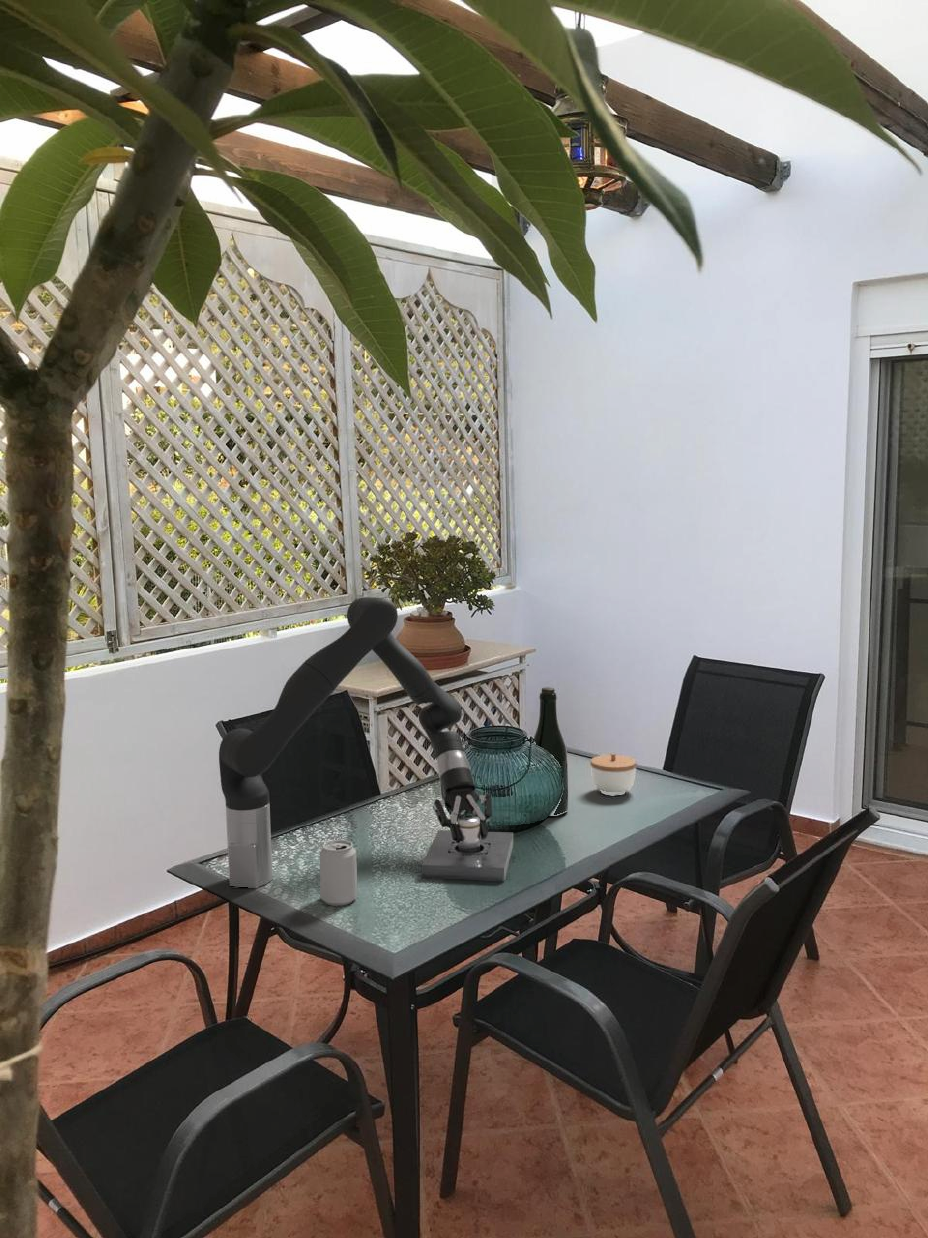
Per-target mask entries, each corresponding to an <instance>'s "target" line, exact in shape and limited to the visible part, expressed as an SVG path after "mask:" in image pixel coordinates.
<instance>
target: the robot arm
mask: <svg viewBox="0 0 928 1238" xmlns="http://www.w3.org/2000/svg"><path fill="white" fill-rule="evenodd" d="M398 614H399V613H398V610H397V607H396V605H395V604H394V603H393V602H392V601H391V600H389V599H386V598H383V597H373V596H370V597H369V596H368V597H367V596H364V597H359V598H356V599H354V600H353V601H352V602H351V603H350V604H349V606H348V608H347V611H346V620H347V623H348V626H349V627H348V629H347V630H346V631H345V632H344V634H342V635H341V636H340V637H339V638H337V639H335V640H333V641H332V642H330V644H327V645H326V646H324V647H323V648H321V649H319V650H318V651H317V652H316V651H315V653H314V654H312V655H310V656H309V657H308V658H307V659H306V660H305V661H304V662H302V664H300V666H299V667H298V668H297V669H296V670H295V671H294V672H293V673H292V675H290V677H289V678H288V679H287V681H286V683H285V685H284V686H283V688H282V690H281V694H280V695H279V698H278V702H276V706H275V707H274V709H273V710H272V712H271V713H270V714H269V715H268V716H267V718H266V719H265V720H264V721H263V722H262V723H261V724H260V725H259V726H258V727H257V728H255V729H254V730H253V731H252V730H250V729H246V728H236V729H232V730H230V731H229V732H227V733H226V734H225V735H224V737H223V738H222V740H221V742H220V745H219V749H218V761H219V762H218V765H219V776H220V786H221V790H222V791H221V792H222V794H223V796H224V801H225V816H226V817H225V819H226V838H227V858H228V859H227V860H228V878H229V887H230V886H241V887H248V888H247V889H258V888H259V887H261V886H263V885H264V886H265V885H266V884H268V883H270V882H271V881H272V880H273V858H272V856H273V855H272V835H271V834H272V832H271V831H272V830H271V811H270V809H271V808H270V792H269V789H268V787H267V786H266V784H265V782H264V781H263V778H262V777H263V776H262V774H263V773H264V772H266V771H267V770H268V769H269V768H270V767H271V765H272V764H273V763H274V762H275V761H276V759H277V758H278V756H280V754H281V752H282V751H283V750H284V749H285V747H286V746H287V745H288V743H289V741H290V740H291V738H293V736H294V735H295V734H296V732H298V730H299V729H300V728H301V727H303V725H304V724H305V722H307V720H308V719H310V717H311V716H312V715H313V714H314V713H315V712H316V710H317V709H318V708H319V707H320V706H322V705H323V704H324V702H325V701H326V700H327V699H328V698H329V697H330V696H331V695H332V694H333V692H335V690H336V689H337V688H338V686H339V685H340V684H341V683H342V682H343V681H344V680H345V678H347V676H349V674H350V673H351V672H352V671H353V670H354V669H355V668H356V667H357V665H358V664H359V663H360V662H361V661H362V659H364V658H365V657H366V655H368V654H369V653H370V652H371V651H373V652H374V653H375V655H377V656H378V658H379V659H380V660H381V661H382V663H383V664H385V666H386V667H387V669H388V670H389V671H390V673H392V675H393V676H394V678H396V680H397V681H398V683H399V684H400V686H401V687H402V688H403V690H404V691H405V693H406V695H407V696H408V697H409V698H410V700H412V702H413V703H414V704H417V705H423V704H427V705H425V706H424V707H422V708H420V710H419V712H418V722H419V724H420V726H421V728H422V729H423V731H424V732H425V733H426V736H427V737H428V739H429V741H430V743H431V745H432V749H433V751H434V756H435V761H436V766H437V767H436V769H437V774H438V778H439V781H440V785H441V789H442V793H443V799H441V800H439V799H435V800H434V802H433V805H432V809H433V811H434V812H435V815H436V818H437V820H438V822H439V824H440V826H441V827H442V828H445V827H446V828H449V830H450V831H451V834H452V838H453V840H454V841H456V843H460V841H461V836H460V832H459V828H458V823H457V822H458V816H462V815H469V816H477V817H479V818H480V835H481V839H482V840H484V839H486V837H487V835H488V832H489V830H488V826H487V823H488V822H490V821H491V819H492V817H493V807H492V795H491V794H490V793H486V794H485V795H482V794H479V793H478V791H476V787H475V781H474V778H473V774H472V770H471V766H470V763H469V760H468V758H467V755H466V752H465V749H464V746H463V740H462V737H461V736H460V734H459V733H458V732H457V731H454V730H451V731H450V730H447V731H443V730H445V729H448V728H450V727H452V726H454V725H456V724H458V723H459V722H460V721H461V720H462V716H463V711H462V707H461V705H460V704H459V702H458V701H457V700H456V699H455V698H454V697H453V696H452V695H451V694H450V693H448V692H446V691H445V690H444V689H443V688H442V687H440V686H439V685H438V683H436V682H435V681H434V679H433V678H432V676H431V675H430V673H429V672H428V671H427V669H426V667H425V666H424V665H423V663H421V661H420V660H419V659H417V657H415V656H414V655H413V654H412V653H411V652H410V651H409V650H408V649H407V648H406V647H404V646H403V644H401V643H400V641H398V639H397V638H396V637H395V636H394V635H393V633H392V631H393V630H394V629H395V627H396V625H397V623H398V619H399V615H398ZM429 703H430V704H429ZM478 802H480V803H481V805H482V806H483V812H482V810H481V808H480V806H479V805H478ZM445 807H446V808H447V809H449V811H451V812H450V818H448V817H447V815H446V814H447V813H446V812H445V810H444V808H445Z"/></svg>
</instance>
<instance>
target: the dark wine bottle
mask: <svg viewBox="0 0 928 1238" xmlns="http://www.w3.org/2000/svg"><path fill="white" fill-rule="evenodd" d="M539 693H540V694H539V696H538V697H539V717H538V724H537V726H536V731H535V732H534V736H533V738H532V740H533V739H534V741H535V742H536V745H538V746H540V747H542V748H544V749H545V750H547V751H548V752H549V753H550V754H552V755H553V756H554V758H555V759H556V760H557V761H558V762H559V764H560V766H561V769H562V773H563V778H564V790H563V795H562V797H561V801H560V803H559V805H558V807H557V809H556V811H555V813H554V815H557V814H560V813H563V812H565V811H567V810H568V811H569V804H570V803H569V802H570V801H569V761H568V760H569V759H568V751H567V746H566V744H565V743H566V742H565V740H564V737H563V735H562V733H561V730H560V726H559V724H558V714H557V693H556V692H555V688H554V687H549V686H548V687H542V688H541V692H539ZM568 811H567V812H568Z"/></svg>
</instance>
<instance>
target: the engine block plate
mask: <svg viewBox="0 0 928 1238" xmlns="http://www.w3.org/2000/svg"><path fill="white" fill-rule="evenodd" d="M513 847H514V832H509V831H508V832H505V831H503V832H502V831H488V835H487V837H486V839H484V840H482V839H481V835H480V852H478V853H472V854H471V853H461V852H458V843H456V841H454V840H453V838H452V834H451V830H450V829H449V830H448V829H447V830H446V829H445V830H444V829H443V830H442V829H438V831H437V832H436V834H435V837H434V838H433V841H432V843H431V845H430V847H429V849H428V851H427V853H426V855H425V857H424V860H423V862H422V863H421V878H422V879H437V880H438V879H439V880H461V881H462V880H463V881H464V880H465V881H486V882H489V881H490V882H505V880H506V875H507V872H508V868H509V863H510V861H511V860H510V859H511V856H512V853H513V852H512V851H513Z"/></svg>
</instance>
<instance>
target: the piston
mask: <svg viewBox="0 0 928 1238" xmlns="http://www.w3.org/2000/svg"><path fill="white" fill-rule="evenodd" d="M457 824H458V828H459V832H460V836H461V841H460V843H458V852H461V853H471V854H472V853H478V852H480V818H479V817H477V816H471V815H463V816H462V815H461V816H459V817H457Z"/></svg>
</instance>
